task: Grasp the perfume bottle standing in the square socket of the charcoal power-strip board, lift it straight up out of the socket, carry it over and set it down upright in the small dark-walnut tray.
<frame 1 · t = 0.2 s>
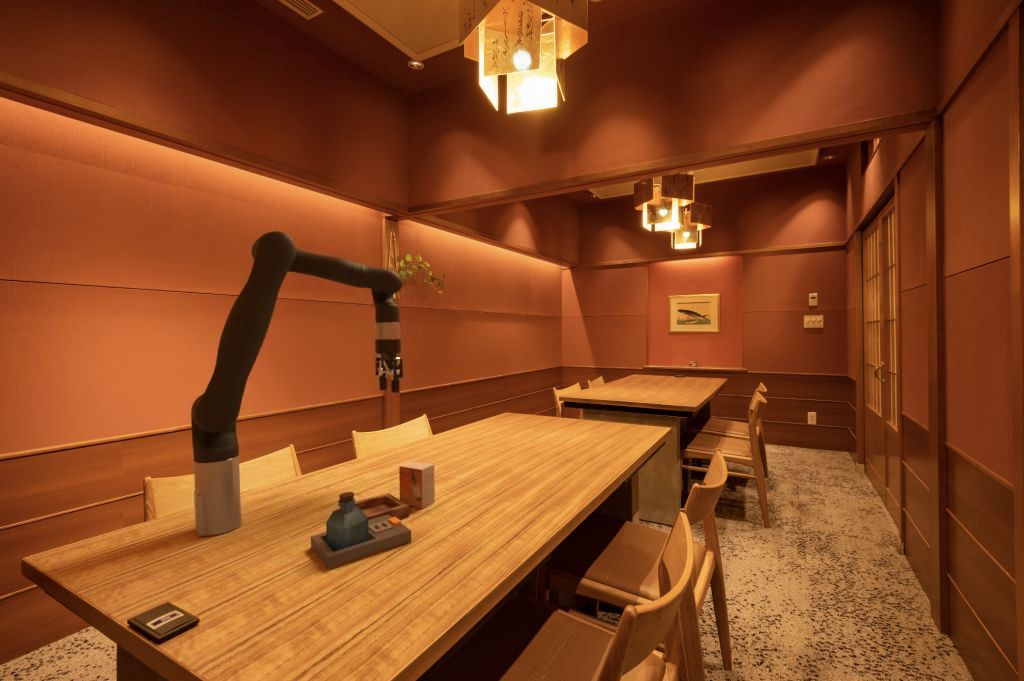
hand: (389, 391, 139), 29 cm above the table, fingers open, 8 cm apart
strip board: (361, 544, 102), on the table
walnut tray: (376, 515, 117), on the table
small box: (417, 503, 126), on the table
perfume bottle: (348, 550, 100), resting in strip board
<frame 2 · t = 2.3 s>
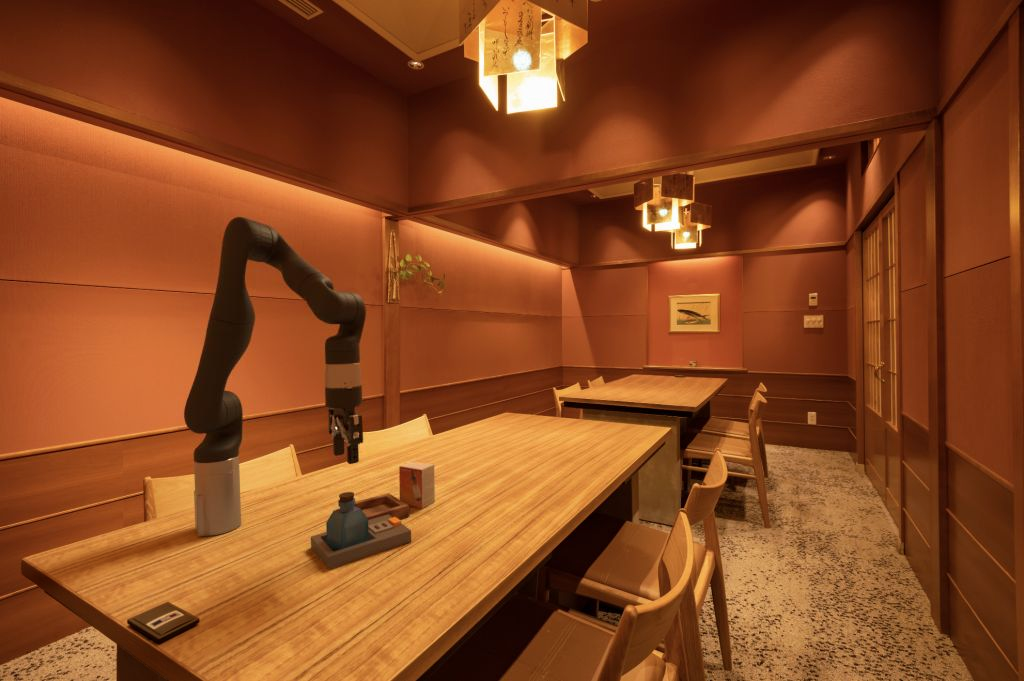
hand: (345, 458, 99), 20 cm above the table, fingers open, 8 cm apart
nothing on the table moved.
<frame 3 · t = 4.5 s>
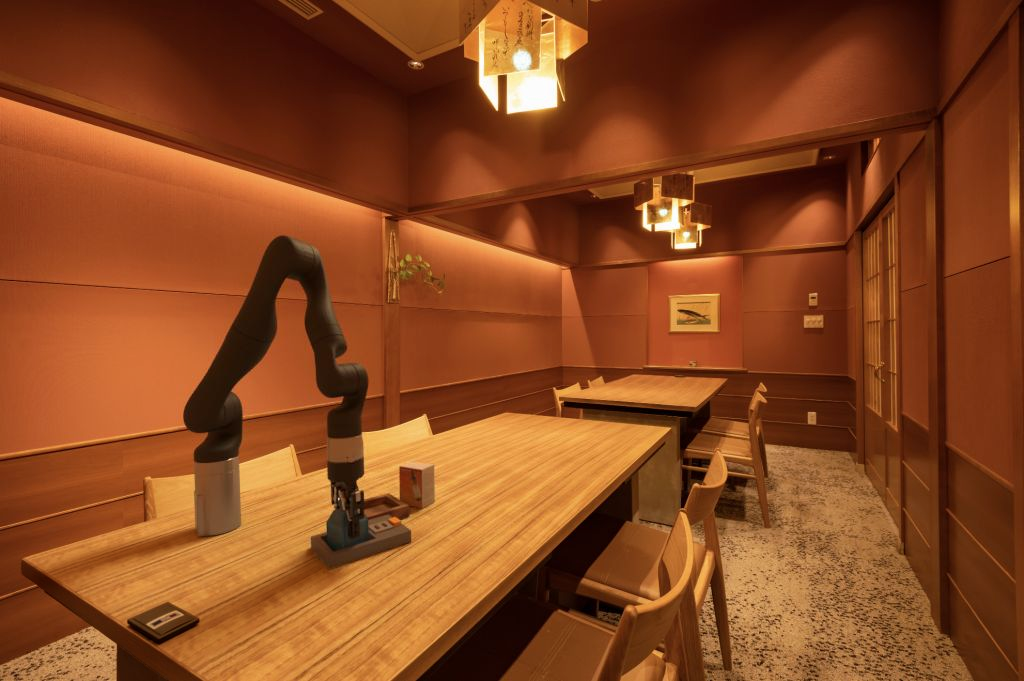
hand: (347, 531, 100), 4 cm above the table, fingers closed on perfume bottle, 7 cm apart
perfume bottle: (348, 549, 100), resting in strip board, touching gripper
everything else where it was.
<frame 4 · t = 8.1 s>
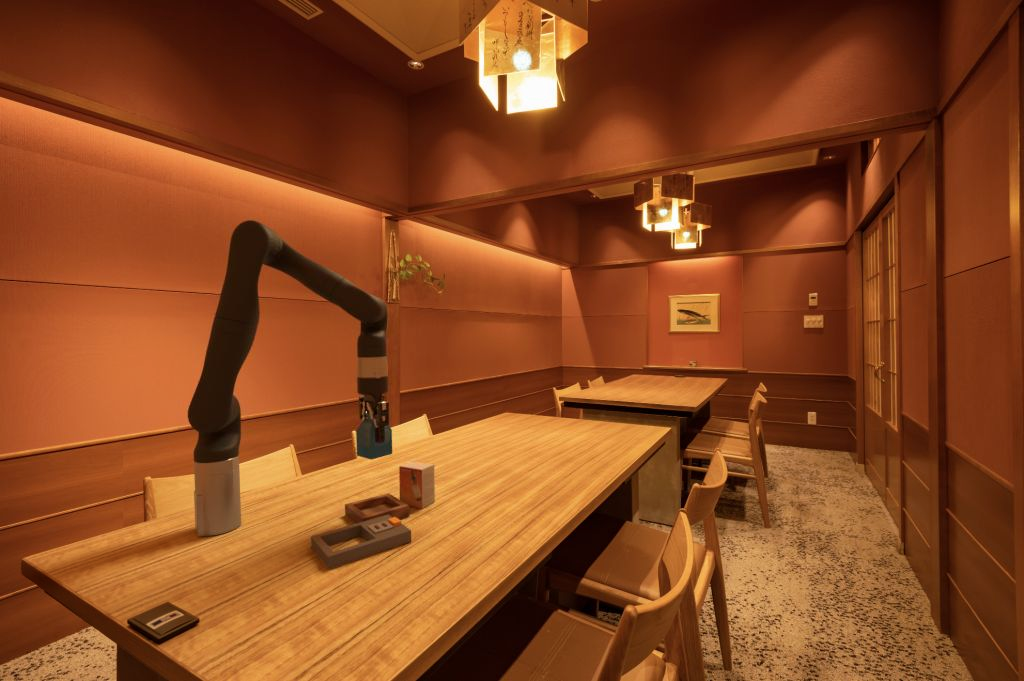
hand: (374, 439, 116), 20 cm above the table, fingers closed on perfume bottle, 7 cm apart
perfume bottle: (374, 455, 117), point 16 cm above the table, touching gripper
everything else where it was.
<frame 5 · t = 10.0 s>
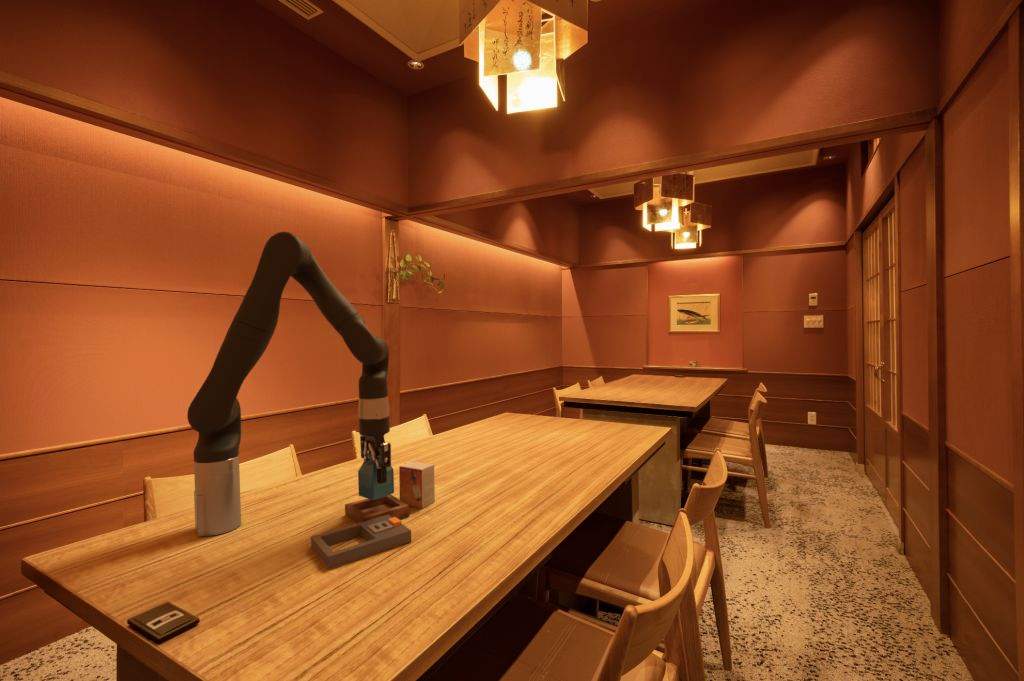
hand: (376, 479, 117), 9 cm above the table, fingers closed on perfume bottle, 7 cm apart
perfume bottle: (376, 495, 117), point 5 cm above the table, touching gripper
everything else where it was.
when the fingers open (6 cm above the table, at t = 11.7 s): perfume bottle drops 2 cm, resting on walnut tray.
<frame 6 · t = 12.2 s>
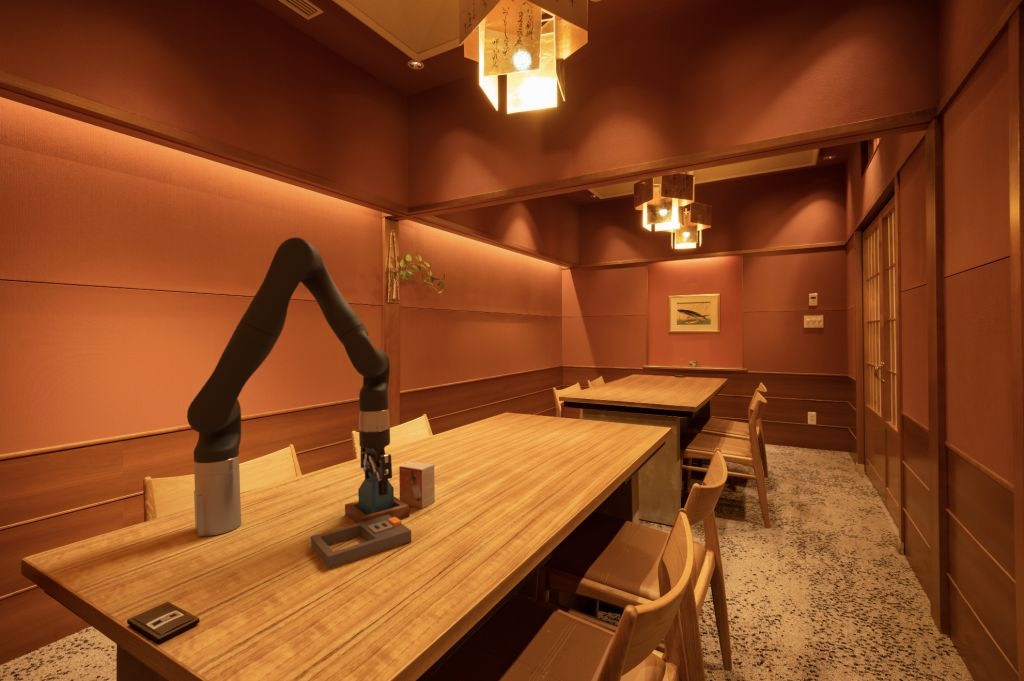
hand: (376, 490, 117), 7 cm above the table, fingers open, 8 cm apart
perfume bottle: (376, 513, 117), point 1 cm above the table, touching walnut tray
everything else where it was.
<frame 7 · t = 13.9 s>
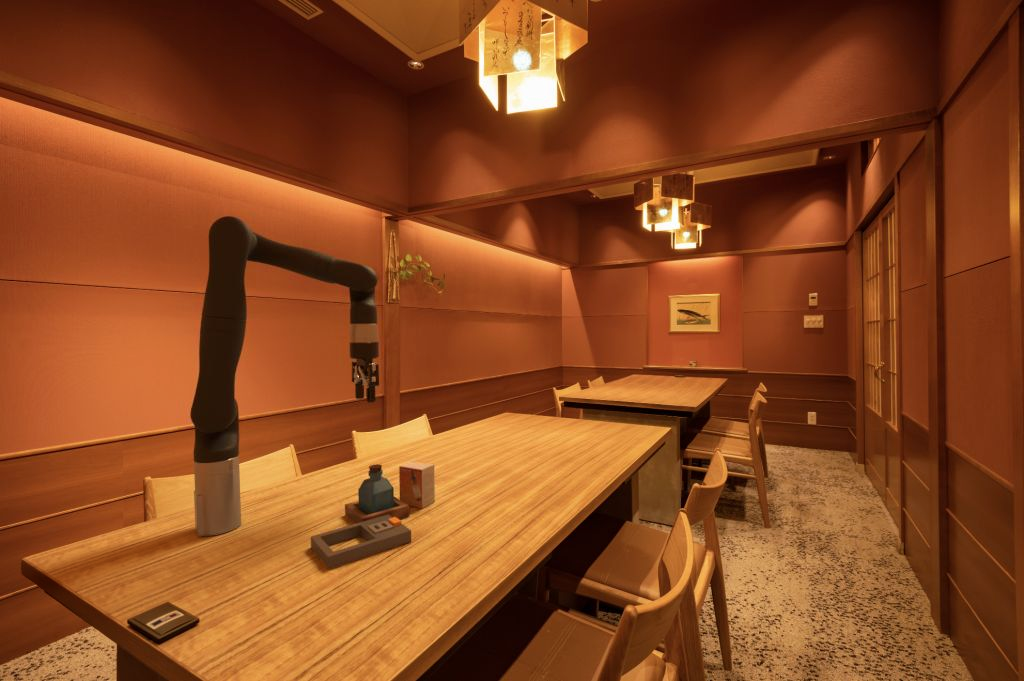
hand: (365, 400, 125), 28 cm above the table, fingers open, 8 cm apart
nothing on the table moved.
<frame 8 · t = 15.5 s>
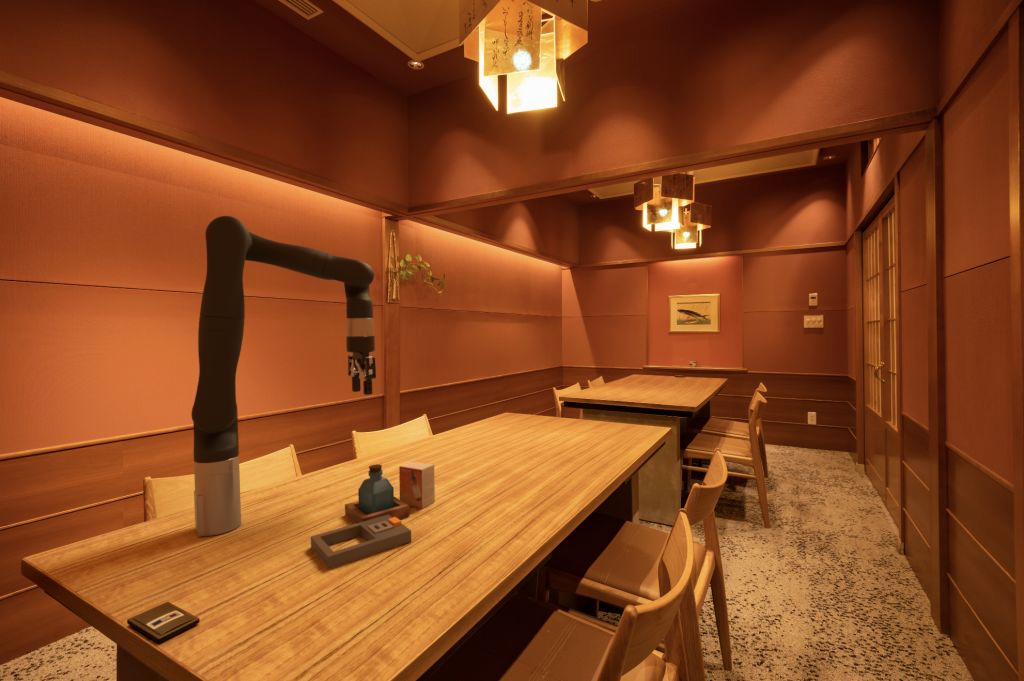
hand: (362, 393, 128), 30 cm above the table, fingers open, 8 cm apart
nothing on the table moved.
at the end: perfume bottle inside the target area on the walnut tray (0.1 cm from its centre), point 0.6 cm above the walnut tray's base; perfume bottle tilted 0°; the gripper is holding nothing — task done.
